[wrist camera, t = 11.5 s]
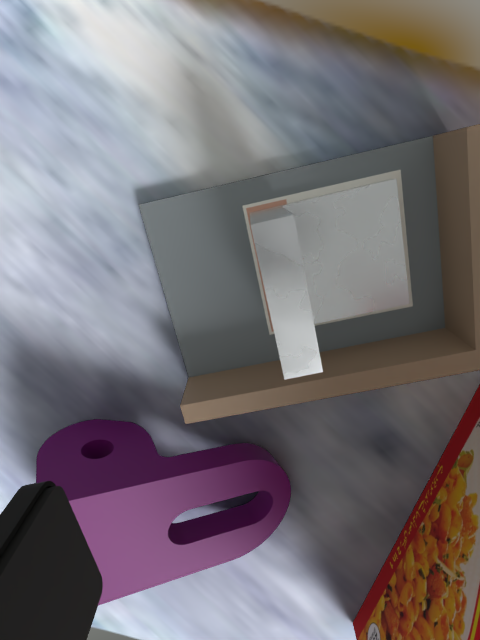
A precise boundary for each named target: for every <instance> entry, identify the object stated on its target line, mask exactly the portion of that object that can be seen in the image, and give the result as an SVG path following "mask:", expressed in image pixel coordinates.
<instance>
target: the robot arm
mask: <svg viewBox="0 0 480 640" xmlns="http://www.w3.org/2000/svg"><path fill="white" fill-rule="evenodd" d="M102 588H103V581H102V576H101V573H100V571H99V569H98V566H97V564H96V562H95V560H94V557H93V555H92V553H91V550H90V548H89V546H88V544H87V541H86V539H85V537H84V535H83V532H82V530H81V528H80V525H79V523H78V521H77V519H76V516H75V514H74V512H73V510H72V507H71V505H70V503H69V500H68V498H67V496H66V494H65V491H64V490H63V488H62V487H61V486H56V485H55V483H53V482H52V481H44V482H39V483H34V484H29V485H25V486H22V487H21V488H20V489H19V490H18V491H17V493H16V494H15V495H14V497H13V498H12V500H11V501H10V502H9V504H8V505H7V506H6V508H5V509H4V511H3V512H2V513H1V515H0V640H86V639H87V637H88V634H89V631H90V628H91V625H92V622H93V619H94V616H95V613H96V610H97V607H98V604H99V601H100V598H101V594H102Z"/></svg>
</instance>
